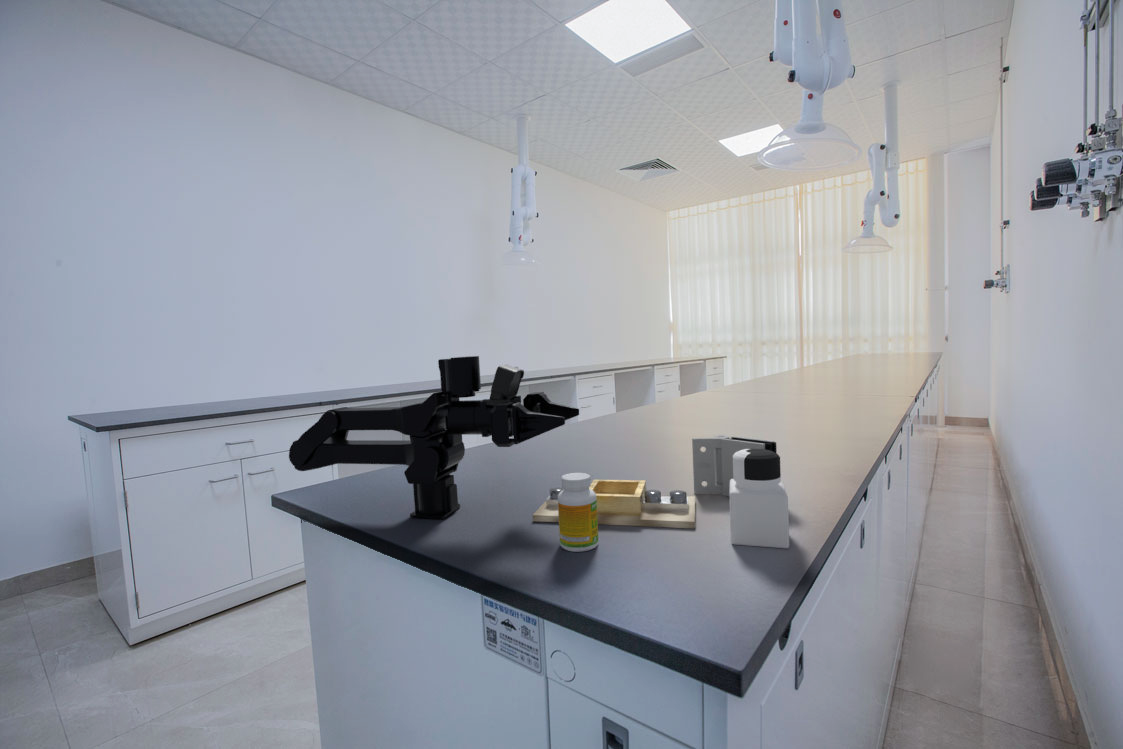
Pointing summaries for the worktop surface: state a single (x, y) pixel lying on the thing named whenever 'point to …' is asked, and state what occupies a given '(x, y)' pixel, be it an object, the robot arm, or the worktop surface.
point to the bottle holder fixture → (628, 498)
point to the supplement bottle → (577, 513)
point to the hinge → (720, 461)
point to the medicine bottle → (758, 500)
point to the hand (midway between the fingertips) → (572, 416)
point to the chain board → (632, 517)
